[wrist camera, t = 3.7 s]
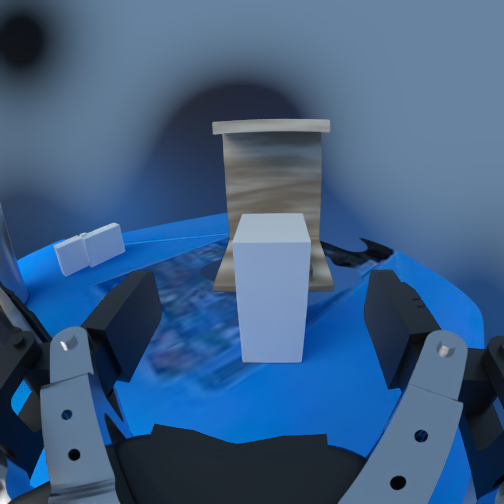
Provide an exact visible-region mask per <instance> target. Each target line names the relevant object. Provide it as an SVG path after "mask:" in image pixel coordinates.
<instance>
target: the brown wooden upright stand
mask: <svg viewBox="0 0 504 504" xmlns="http://www.w3.org/2000/svg"><path fill="white" fill-rule="evenodd" d="M321 132H330V120H315V119H260V120H240V121H239V120H238V121H223V122H213V134H223V147H224V164H225V179H226V194H227V208H228V222H229V235H230V241H229V244H228V246H227V249H226V252H225V255H224V257H223V260H222V263H221V266H220V268H219V271H218V274H217V277H216V280H215V282H214V285H213V287H214V291H220V292H236V284H235V272H234V259H233V246H232V242H233V239H234V236H235V233H236V230H237V228H238V225H239V222H240V219H241V216H242V214H266V213H303V216H304V220H305V223H306V227H307V230H308V234H309V237H310V241H311V251H310V270H309V285H308V292H316V291H334V282H333V279H332V276H331V273H330V270H329V267H328V264H327V261H326V258H325V255H324V252H323V249H322V246H321V244H320V241H319V229H320V228H319V227H320V205H321Z"/></svg>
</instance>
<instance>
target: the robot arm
mask: <svg viewBox="0 0 504 504" xmlns="http://www.w3.org/2000/svg"><path fill="white" fill-rule="evenodd" d="M0 281H1V283H2V284H3V285H4V286H5V287H6V288H8V289H9V290H11V291H13V292H14V293H15V295H16V296H18V297H19V299H20V300H21V301H22V302H23V304H25V303H26V301H27V299H28V297H29V293H28V290H27V288H26V285H25V283H24V280H23V277H22V275H21V272H20V269H19V266H18V264H17V261H16V258H15V255H14V252H13V249H12V245H11V242H10V239H9V235H8V232H7V228H6V224H5V221H4V217H3V212H2V208H1V204H0ZM98 305H99V306H97V307H96V308H95V309H94V311H93V312H92V313H91V314H90V315H89V317H88V318H87V319H86V320H85V322H84V323H83V324H82V325H81V327H69V328H66V329H64V330H62V331H60V332H59V333H57V334H56V335H55V336H54V338H53V339H52V341H51V342H48V343H38V341H37V340H36V338H35V336H34V334H33V333H32V332H31V331H21V332H19V333H17V334H15V335H13V336H12V337H11V338H10V339H9V340H8V341H7V342H6V344H5V345H4V346H3V347H2V349H1V350H0V504H427V503H428V501H429V499H430V497H431V495H432V493H433V491H434V489H435V487H436V484H437V482H438V480H439V477H440V475H441V473H442V470H443V468H444V465H445V463H446V460H447V457H448V455H449V452H450V449H451V446H452V443H453V440H454V437H455V434H456V431H457V427H458V426H459V429H460V432H461V436H462V439H463V442H464V446H465V449H466V453H467V457H468V461H469V465H470V469H471V473H472V477H473V482H474V487H475V492H476V498H477V502H476V504H504V431H503V428H502V426H501V423H500V421H499V418H498V415H497V413H496V411H495V408H494V406H493V402H494V401H495V400H496V398H497V397H499V400H500V402H501V404H502V406H503V409H504V337H503V336H496V337H494V338H492V339H491V340H490V341H489V343H488V345H487V347H486V349H475V348H467V345H466V343H465V342H464V340H463V339H462V338H461V337H460V336H458V335H457V334H455V333H453V332H450V331H446V330H441V328H440V326H439V325H438V323H437V322H436V320H435V319H434V317H433V316H432V314H431V312H430V311H429V309H428V308H427V307H426V305H425V303H424V302H423V301H422V300H421V298H420V296H419V295H418V293H417V292H416V290H415V289H413V288H412V287H411V286H409V285H408V284H407V283H405V282H400V280H399V279H398V277H397V276H396V274H395V273H394V271H393V270H391V269H389V270H372V271H371V273H370V277H369V283H368V289H367V294H366V300H365V305H364V320H365V324H366V326H367V329H368V332H369V334H370V337H371V340H372V343H373V345H374V348H375V351H376V354H377V357H378V360H379V363H380V366H381V369H382V372H383V375H384V378H385V381H386V384H387V387H388V389H394V388H400V389H401V392H402V393H401V395H400V397H399V399H398V401H397V403H396V405H395V407H394V409H393V411H392V413H391V415H390V417H389V419H388V420H387V422H386V424H385V426H384V428H383V430H382V431H381V433H380V435H379V436H378V438H377V440H376V442H375V443H374V445H373V446H372V448H371V449H370V451H369V453H368V454H367V456H366V457H363V456H361V455H359V454H357V453H355V452H353V451H350V450H347V449H345V448H341V447H337V446H332V445H327V434H318V435H297V436H279V437H275V438H270V439H264V440H259V441H253V442H247V443H241V444H234V443H230V442H226V441H223V440H220V439H217V438H214V437H211V436H208V435H205V434H202V433H200V432H197V431H194V430H188V429H182V428H175V427H169V426H164V425H158V424H154V427H153V430H152V432H151V434H147V435H139V436H135V437H134V436H133V435H132V433H131V431H130V428H129V426H128V423H127V420H126V418H125V415H124V412H123V409H122V406H121V403H120V400H119V397H118V393H117V390H116V388H115V387H114V384H115V382H116V380H118V381H123V382H128V383H129V382H130V380H131V378H132V376H133V374H134V372H135V370H136V367H137V365H138V363H139V361H140V359H141V358H142V356H143V354H144V352H145V350H146V348H147V346H148V344H149V342H150V340H151V338H152V336H153V334H154V332H155V330H156V328H157V326H158V325H159V323H160V320H161V316H162V307H161V302H160V299H159V295H158V291H157V287H156V282H155V278H154V275H153V273H152V272H150V271H132V272H131V273H130V274H129V275H128V276H127V278H126V279H125V280H124V281H123V282H122V283H121V284H119V285H118V286H116V287H115V288H113V289H112V290H110V291H109V293H108V294H107V295H106V296H105V297H104V300H102V301H101V302H100V303H99V304H98ZM22 380H24V381H25V383H26V384H27V385H28V387H29V388H30V390H31V391H32V392H31V394H30V395H29V397H28V399H27V401H26V402H25V404H24V406H23V407H22V409H21V411H20V413H19V414H18V416H17V414H16V413H15V412H14V411H13V409H12V407H11V399H12V396H13V395H14V393H15V391H16V390H17V388H18V387H19V385H20V384H21V382H22ZM43 448H44V449H45V456H46V462H47V468H48V474H49V479H50V481H48V482H46V483H44V484H42V485H40V486H38V487H36V488H34V487H32V486H31V485H30V479H31V476H32V474H33V471H34V469H35V466H36V464H37V461H38V459H39V457H40V454H41V452H42V450H43Z"/></svg>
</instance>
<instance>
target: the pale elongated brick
mask: <svg viewBox="0 0 504 504" xmlns="http://www.w3.org/2000/svg"><path fill="white" fill-rule="evenodd" d="M232 246H233V259H234V272H235V284H236V295H237V307H238V318H239V329H240V340H241V350H242V361H243V362H257V363H299V362H302V355H303V345H304V335H305V324H306V312H307V299H308V285H309V270H310V251H311V241H310V237H309V234H308V230H307V227H306V223H305V220H304V216H303V213H266V214H242V216H241V219H240V222H239V225H238V228H237V230H236V233H235V236H234V239H233V242H232Z"/></svg>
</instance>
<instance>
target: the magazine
mask: <svg viewBox="0 0 504 504" xmlns="http://www.w3.org/2000/svg"><path fill="white" fill-rule="evenodd" d="M21 331H31V332H32V333H33V334H34V336H35V338H36V340H37V341H38V343H48V342H51V341H52V338H51V336H50V335H49V334H48V332H47V331H46V330H45V328H44V327H43V325H42V324H41V323H40V321H39V320H38V318H37V317H36V315H35V314H34V313H33V312H32V311H30V310H29V309H28V308H27V307H26V306H25V305H24V304H23V302H22V301H21V300H20V299H19V297H18V296H16V295H15V293H14V292H13V291H11V290H9V289H8V288H6V287H5V286H4V285H3V284H2V283H1V281H0V350H1V349H2V347H3V346H4V345H5V344H6V342H7V341H8V340H9V339H10V338H11V337H12V336H13V335H15V334H17V333H19V332H21Z"/></svg>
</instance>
